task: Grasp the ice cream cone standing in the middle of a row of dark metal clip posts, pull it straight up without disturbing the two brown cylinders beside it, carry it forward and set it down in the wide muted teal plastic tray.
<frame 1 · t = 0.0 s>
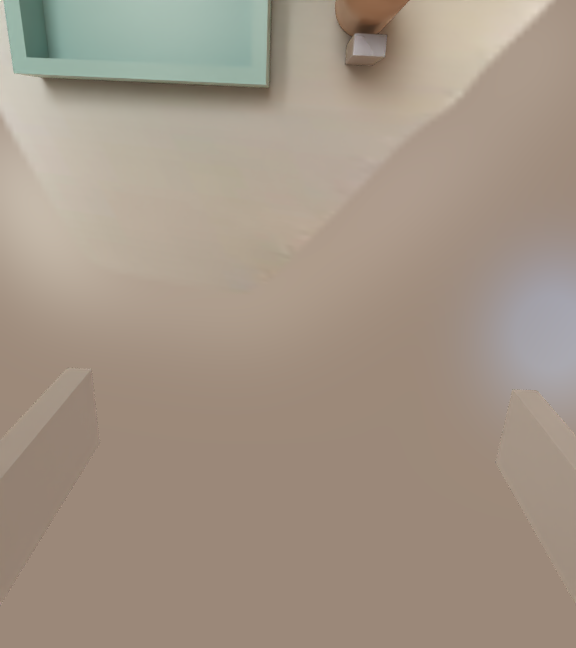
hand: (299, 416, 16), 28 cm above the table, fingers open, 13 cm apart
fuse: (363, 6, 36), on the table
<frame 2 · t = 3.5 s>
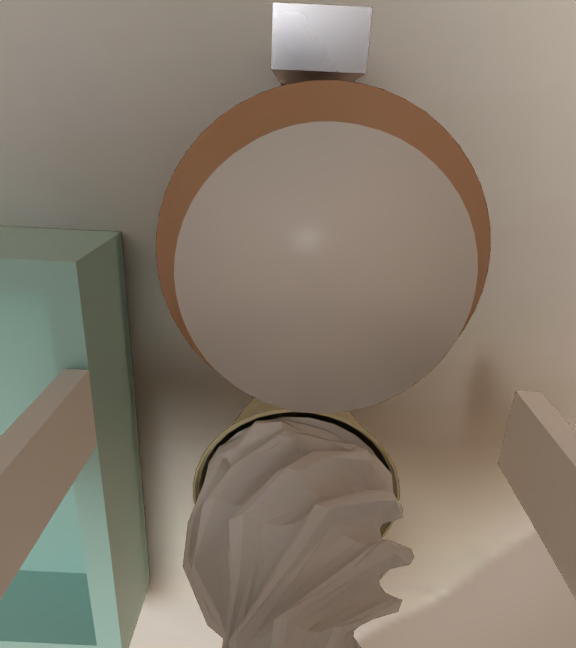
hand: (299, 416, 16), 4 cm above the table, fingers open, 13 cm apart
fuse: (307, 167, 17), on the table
ice cream cone: (297, 351, 20), on the table
clip row: (297, 354, 20), on the table
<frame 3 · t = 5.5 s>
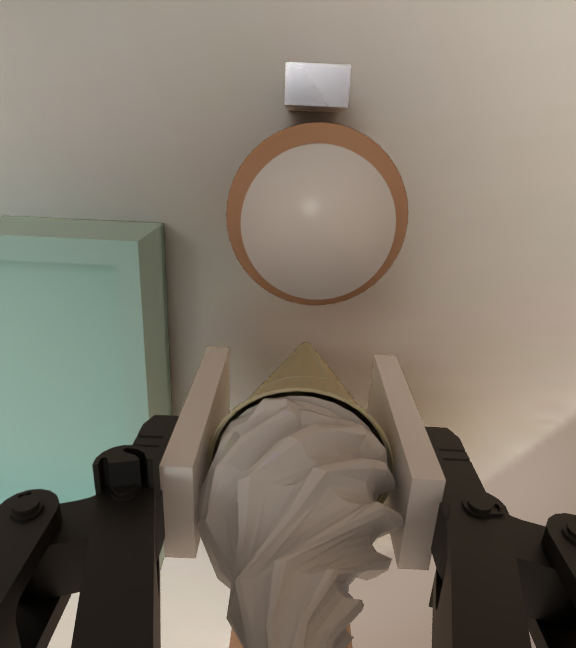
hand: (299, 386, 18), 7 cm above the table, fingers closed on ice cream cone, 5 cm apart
tray: (7, 379, 27), on the table
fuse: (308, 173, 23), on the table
ice cream cone: (306, 345, 21), point 4 cm above the table, touching gripper
clip row: (300, 321, 25), on the table
when the fingers open (3 cm above the table, at t = 13.8 s): ice cream cone stays where it is, point 1 cm above the table.
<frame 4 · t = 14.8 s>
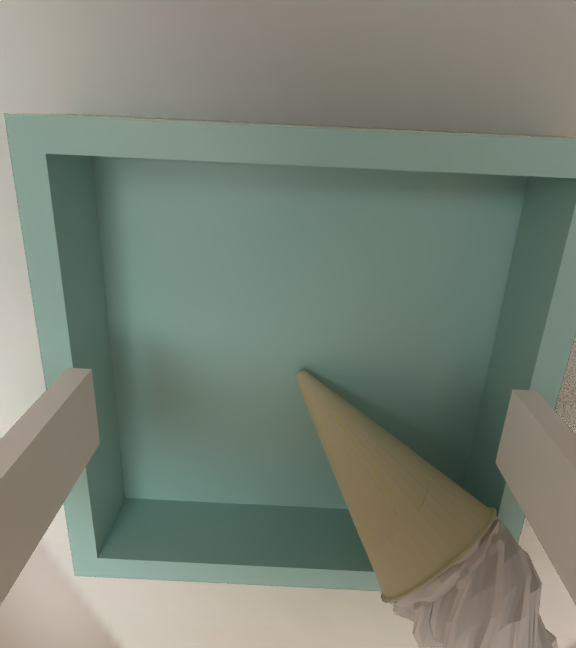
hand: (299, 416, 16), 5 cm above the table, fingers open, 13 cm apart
tray: (299, 349, 21), on the table
ice cream cone: (296, 369, 20), point 1 cm above the table
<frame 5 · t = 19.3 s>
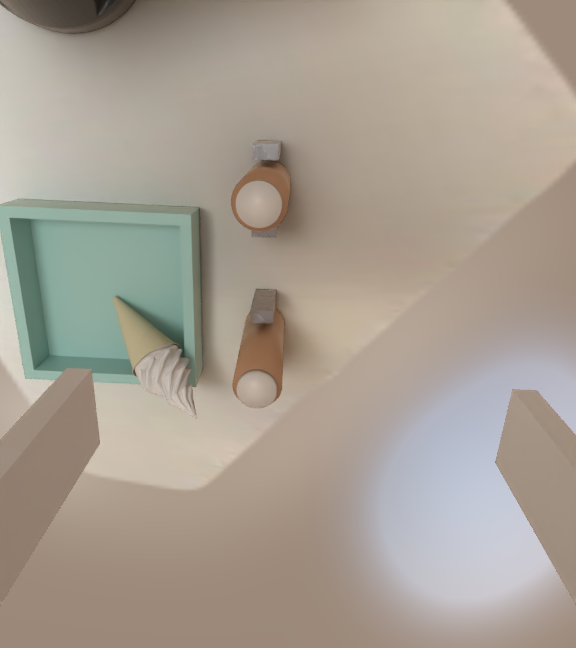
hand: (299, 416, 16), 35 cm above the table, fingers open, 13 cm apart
tray: (116, 288, 51), on the table
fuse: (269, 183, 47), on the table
ice cream cone: (113, 296, 51), point 1 cm above the table, touching tray
clip row: (266, 257, 50), on the table
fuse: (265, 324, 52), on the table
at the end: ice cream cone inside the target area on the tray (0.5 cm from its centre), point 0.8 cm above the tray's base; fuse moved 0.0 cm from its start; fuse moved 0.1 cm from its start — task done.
